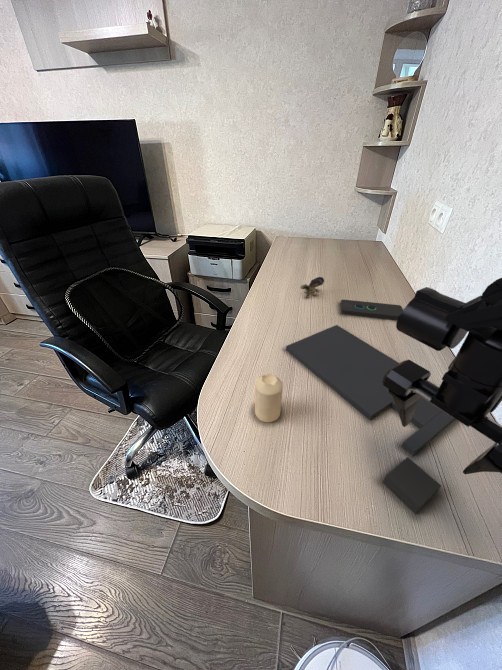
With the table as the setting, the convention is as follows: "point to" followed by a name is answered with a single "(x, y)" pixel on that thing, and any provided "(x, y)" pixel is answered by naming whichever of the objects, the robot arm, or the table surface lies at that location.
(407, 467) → the black block
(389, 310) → the smart home device
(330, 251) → the table surface
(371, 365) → the mat
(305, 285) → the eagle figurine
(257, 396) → the candle
